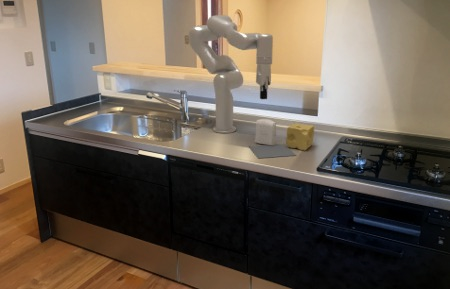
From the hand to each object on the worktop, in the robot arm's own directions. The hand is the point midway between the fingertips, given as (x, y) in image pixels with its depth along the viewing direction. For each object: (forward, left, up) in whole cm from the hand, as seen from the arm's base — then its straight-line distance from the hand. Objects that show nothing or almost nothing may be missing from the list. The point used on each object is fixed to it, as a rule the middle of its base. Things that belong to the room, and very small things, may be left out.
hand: (263, 98), depth 197 cm
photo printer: (+6, 0, -22) cm, 22 cm away
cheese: (+12, +15, -22) cm, 29 cm away
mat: (+16, 0, -22) cm, 27 cm away
